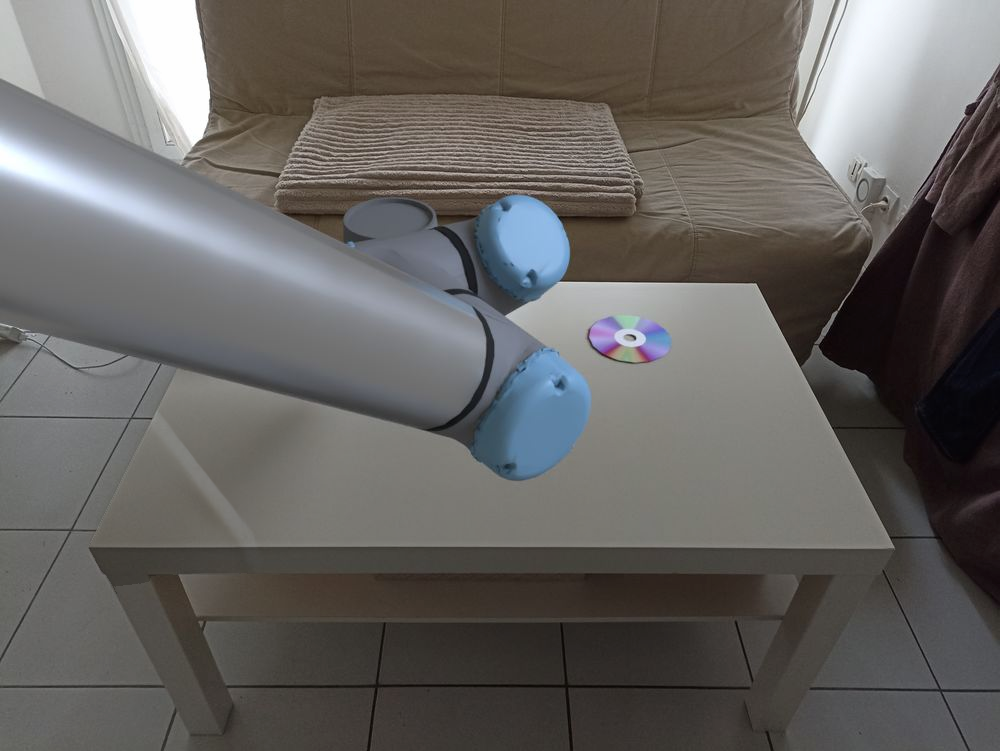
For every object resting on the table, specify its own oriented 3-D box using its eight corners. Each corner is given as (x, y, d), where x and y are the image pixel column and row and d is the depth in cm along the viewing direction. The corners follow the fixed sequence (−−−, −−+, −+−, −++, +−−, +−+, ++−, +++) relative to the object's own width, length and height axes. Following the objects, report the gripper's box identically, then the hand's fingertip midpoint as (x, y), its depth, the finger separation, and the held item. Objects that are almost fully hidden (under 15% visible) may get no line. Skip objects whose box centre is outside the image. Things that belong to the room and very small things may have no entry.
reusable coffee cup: (404, 281, 114) (398, 188, 105) (460, 314, 107) (458, 218, 98) (335, 312, 107) (321, 215, 98) (389, 350, 100) (380, 250, 91)
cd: (571, 335, 103) (572, 334, 103) (626, 306, 109) (626, 306, 109) (634, 373, 97) (634, 373, 97) (688, 341, 102) (688, 340, 102)
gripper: (403, 371, 63) (319, 422, 83) (515, 315, 70) (413, 374, 90) (361, 291, 63) (287, 362, 82) (477, 243, 70) (384, 318, 90)
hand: (353, 368), depth 86 cm, fingers closed
